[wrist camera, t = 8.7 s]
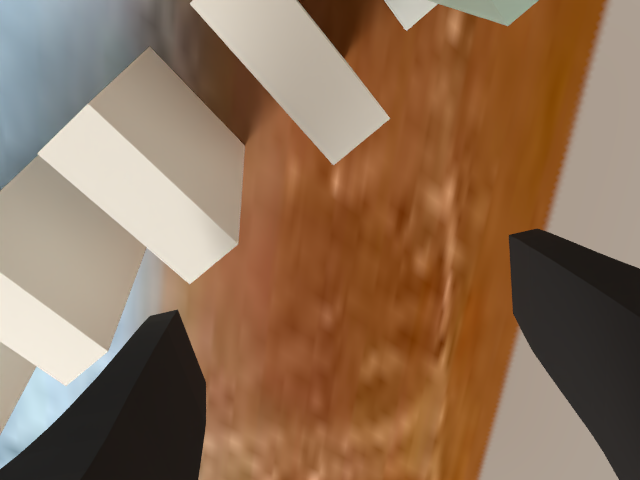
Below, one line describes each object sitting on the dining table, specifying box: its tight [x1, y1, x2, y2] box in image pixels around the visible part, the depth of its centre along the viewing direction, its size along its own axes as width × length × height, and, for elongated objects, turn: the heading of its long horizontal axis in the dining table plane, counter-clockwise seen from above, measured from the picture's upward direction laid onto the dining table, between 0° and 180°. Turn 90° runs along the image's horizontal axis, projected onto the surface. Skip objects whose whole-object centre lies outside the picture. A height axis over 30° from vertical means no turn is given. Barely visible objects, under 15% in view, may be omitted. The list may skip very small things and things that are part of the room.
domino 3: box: [37, 46, 245, 284], centre depth 16 cm, size 2×4×8 cm, turn 40°
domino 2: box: [0, 155, 147, 386], centre depth 17 cm, size 2×4×8 cm, turn 40°
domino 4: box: [190, 0, 390, 165], centre depth 15 cm, size 2×4×8 cm, turn 40°
